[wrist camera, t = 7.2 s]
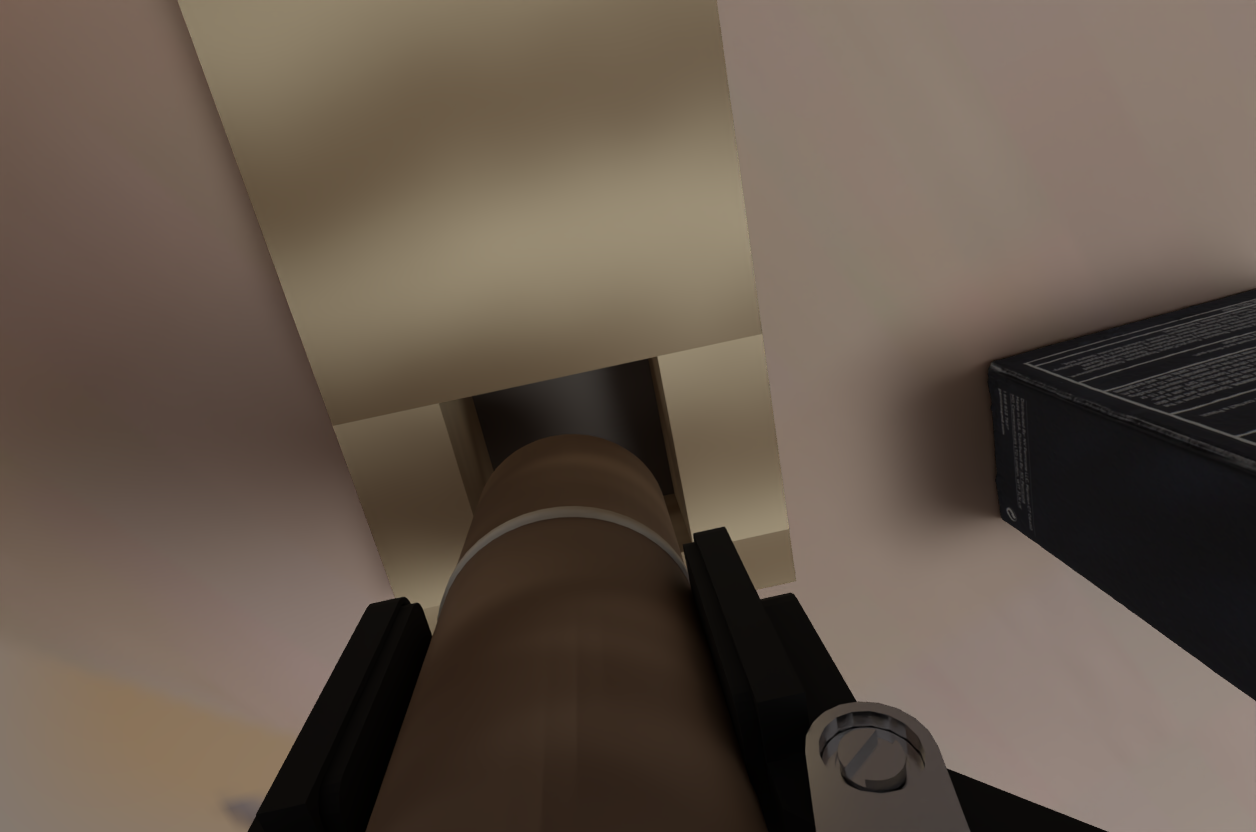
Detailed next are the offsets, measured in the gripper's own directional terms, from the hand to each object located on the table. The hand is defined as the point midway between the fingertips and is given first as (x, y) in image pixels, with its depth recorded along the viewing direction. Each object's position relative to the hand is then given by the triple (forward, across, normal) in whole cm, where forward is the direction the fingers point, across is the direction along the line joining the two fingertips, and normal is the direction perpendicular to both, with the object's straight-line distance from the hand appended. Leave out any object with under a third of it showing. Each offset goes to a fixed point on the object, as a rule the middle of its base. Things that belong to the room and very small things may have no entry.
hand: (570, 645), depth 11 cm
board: (+11, 0, -6) cm, 12 cm away
